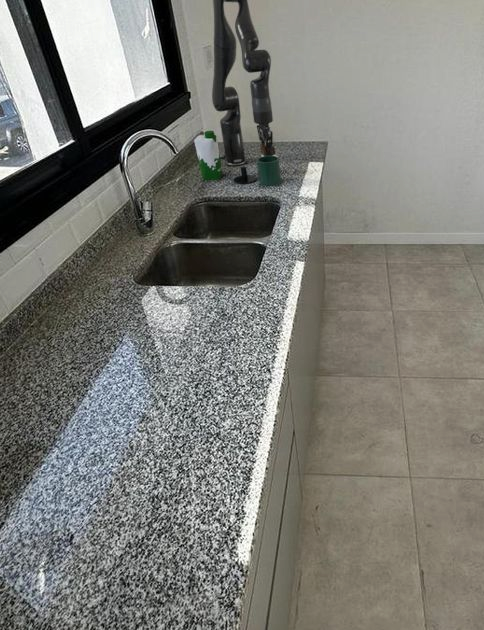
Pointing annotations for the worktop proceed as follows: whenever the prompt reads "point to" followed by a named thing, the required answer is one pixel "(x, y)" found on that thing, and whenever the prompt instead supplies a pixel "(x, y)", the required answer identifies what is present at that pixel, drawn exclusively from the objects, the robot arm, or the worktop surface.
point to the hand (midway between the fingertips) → (267, 153)
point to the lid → (244, 177)
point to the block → (264, 149)
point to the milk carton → (208, 156)
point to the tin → (269, 170)
